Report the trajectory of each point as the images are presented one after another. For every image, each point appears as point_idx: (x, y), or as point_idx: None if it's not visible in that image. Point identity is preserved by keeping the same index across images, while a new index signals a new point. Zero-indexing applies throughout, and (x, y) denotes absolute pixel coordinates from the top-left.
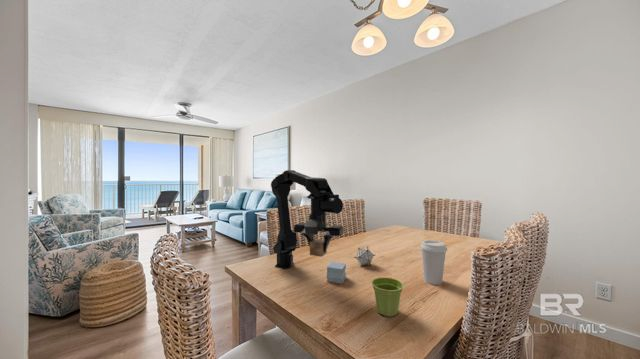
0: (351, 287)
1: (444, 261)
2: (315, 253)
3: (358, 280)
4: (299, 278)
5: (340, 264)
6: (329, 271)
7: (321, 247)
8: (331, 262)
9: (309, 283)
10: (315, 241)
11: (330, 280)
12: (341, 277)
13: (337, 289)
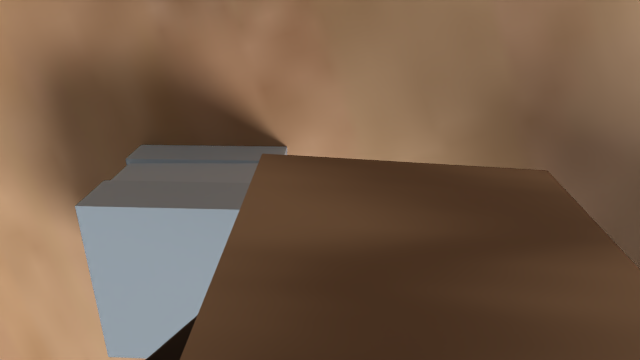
0: (35, 94)
1: None
2: (418, 182)
3: (40, 241)
4: (575, 123)
5: (150, 320)
6: (246, 187)
7: (237, 264)
8: None
9: (441, 46)
10: None
11: (252, 151)
12: (129, 169)
13: (133, 9)
